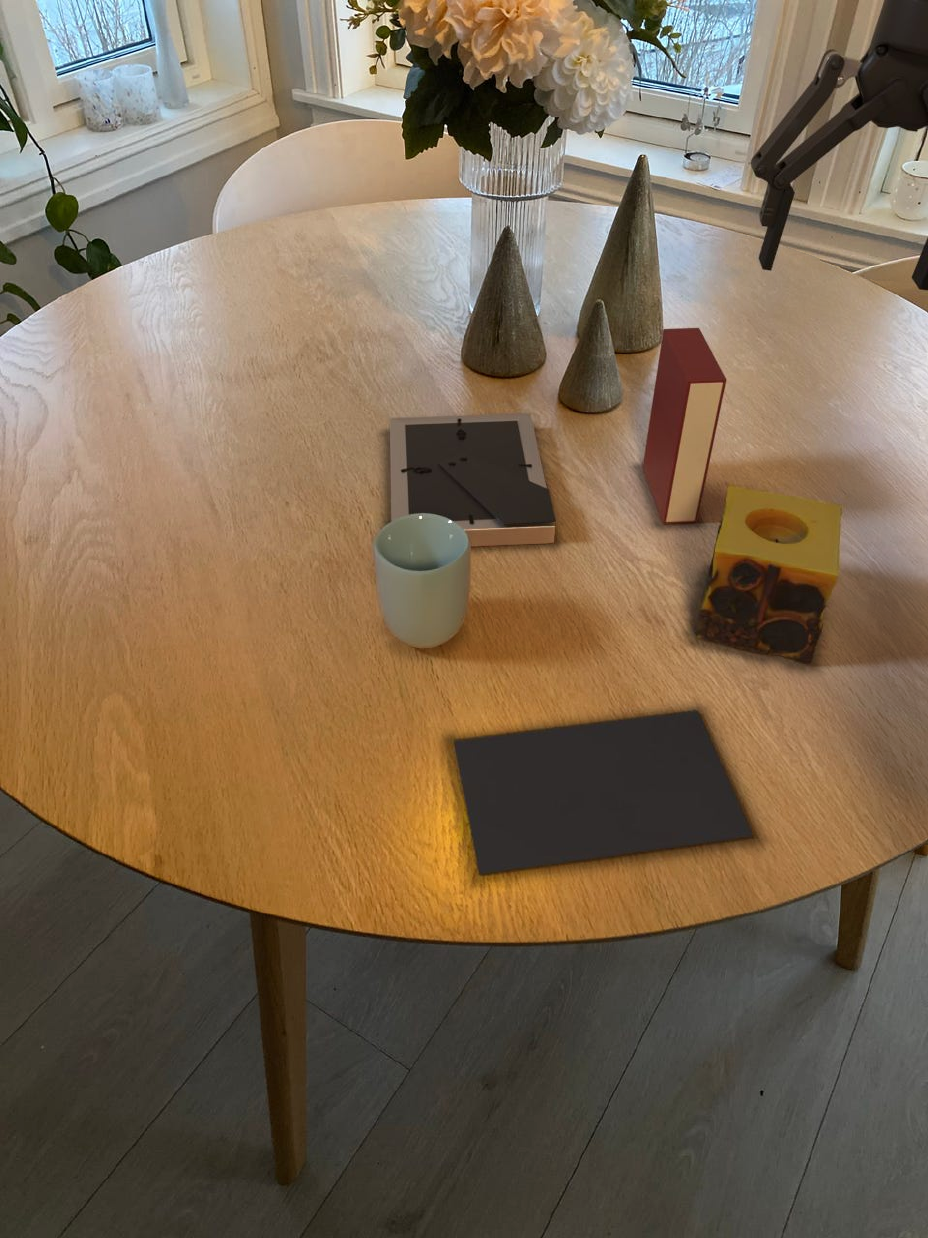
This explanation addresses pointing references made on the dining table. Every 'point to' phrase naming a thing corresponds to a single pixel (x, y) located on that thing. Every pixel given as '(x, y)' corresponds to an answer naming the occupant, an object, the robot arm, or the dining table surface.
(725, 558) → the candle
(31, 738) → the dining table surface
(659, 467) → the book
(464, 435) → the picture frame
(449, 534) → the cup
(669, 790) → the mat
